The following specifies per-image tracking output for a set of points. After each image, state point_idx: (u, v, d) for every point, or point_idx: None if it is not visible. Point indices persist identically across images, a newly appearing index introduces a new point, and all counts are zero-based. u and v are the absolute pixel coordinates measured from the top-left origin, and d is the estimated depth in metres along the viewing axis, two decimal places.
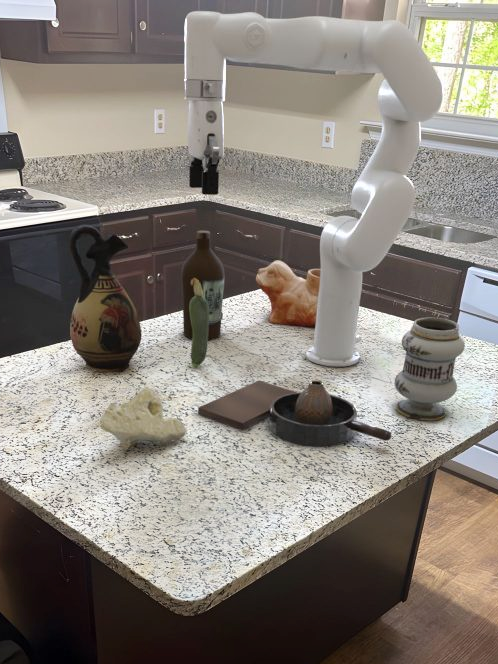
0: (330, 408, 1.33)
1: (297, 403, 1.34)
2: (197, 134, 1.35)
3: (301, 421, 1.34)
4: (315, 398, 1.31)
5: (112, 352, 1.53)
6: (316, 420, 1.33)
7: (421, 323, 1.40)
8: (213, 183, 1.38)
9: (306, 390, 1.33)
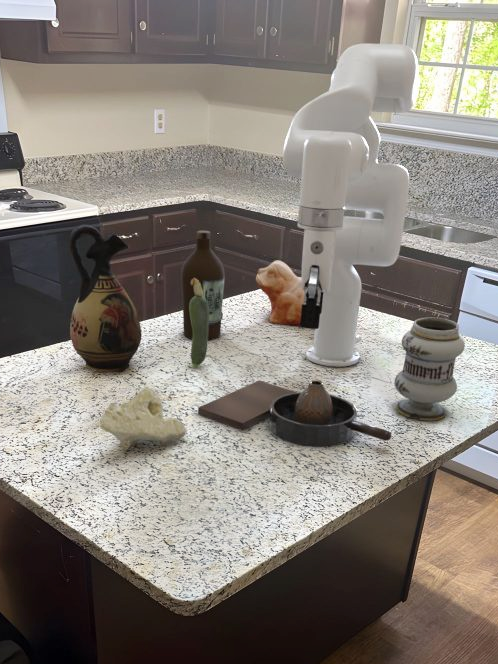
0: (330, 408, 1.33)
1: (297, 403, 1.34)
2: (302, 264, 1.21)
3: (301, 421, 1.34)
4: (315, 398, 1.31)
5: (112, 352, 1.53)
6: (316, 420, 1.33)
7: (421, 323, 1.40)
8: (312, 317, 1.22)
9: (306, 390, 1.33)
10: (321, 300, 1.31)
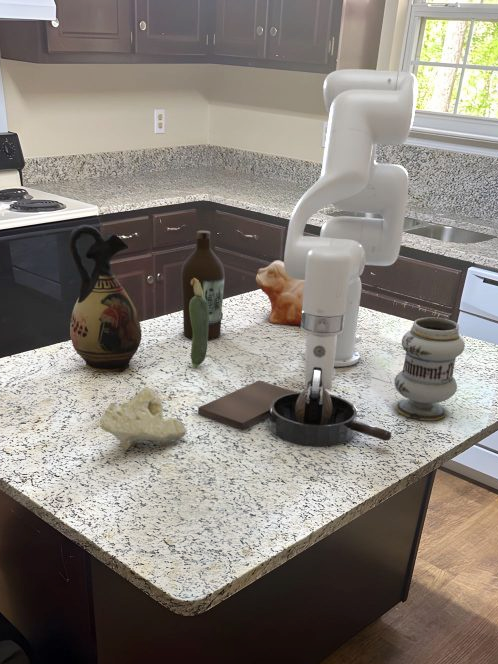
0: (330, 408, 1.33)
1: (297, 403, 1.34)
2: (305, 364, 1.28)
3: (301, 421, 1.34)
4: None
5: (112, 352, 1.53)
6: None
7: (421, 323, 1.40)
8: (315, 415, 1.31)
9: (306, 390, 1.33)
10: None
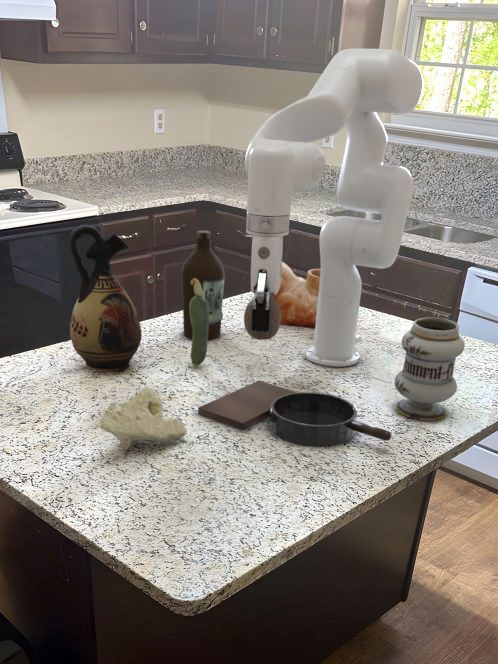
0: (278, 316, 1.33)
1: (245, 311, 1.33)
2: None
3: (249, 330, 1.33)
4: None
5: (112, 352, 1.53)
6: None
7: (421, 323, 1.40)
8: (262, 321, 1.30)
9: None
10: None
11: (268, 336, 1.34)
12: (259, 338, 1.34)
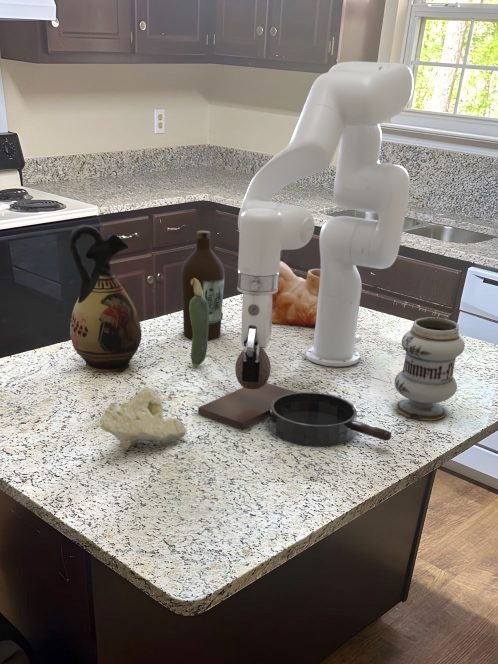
0: (268, 367, 1.39)
1: (236, 362, 1.39)
2: None
3: (240, 380, 1.39)
4: None
5: (112, 352, 1.53)
6: None
7: (421, 323, 1.40)
8: (252, 373, 1.36)
9: (244, 350, 1.38)
10: None
11: (258, 386, 1.40)
12: (249, 388, 1.40)
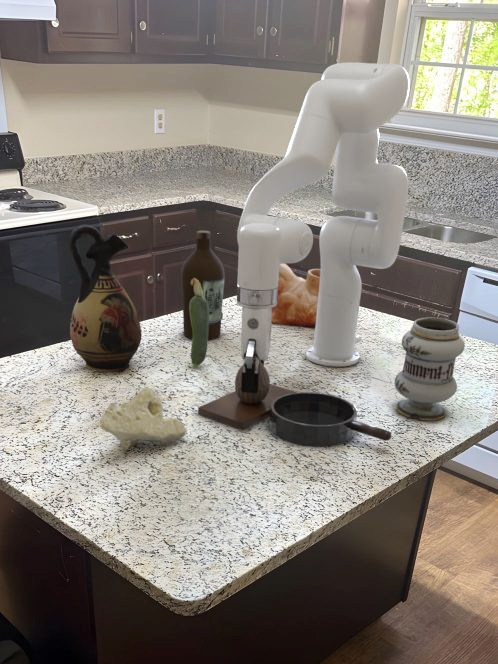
0: (267, 382, 1.40)
1: (236, 378, 1.41)
2: None
3: (240, 395, 1.41)
4: None
5: (112, 352, 1.53)
6: (254, 394, 1.40)
7: (421, 323, 1.40)
8: (251, 383, 1.36)
9: None
10: (262, 363, 1.44)
11: (257, 401, 1.42)
12: (249, 402, 1.42)
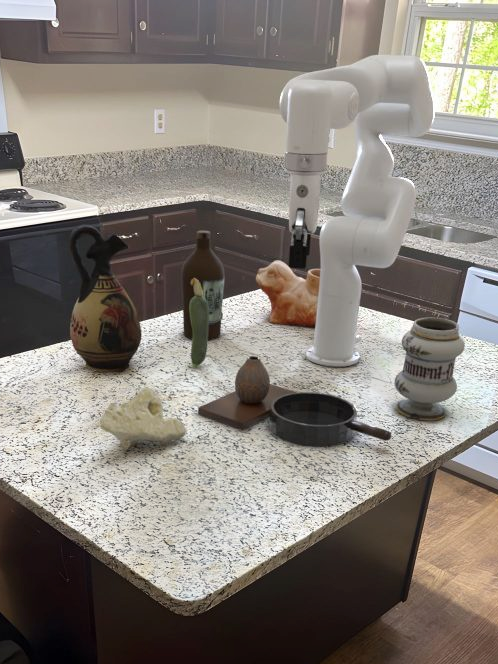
0: (267, 382, 1.40)
1: (236, 378, 1.41)
2: (289, 207, 1.30)
3: (240, 395, 1.41)
4: (251, 372, 1.38)
5: (112, 352, 1.53)
6: (254, 394, 1.40)
7: (421, 323, 1.40)
8: (299, 257, 1.32)
9: (244, 365, 1.40)
10: (309, 242, 1.41)
11: (257, 401, 1.42)
12: (249, 402, 1.42)
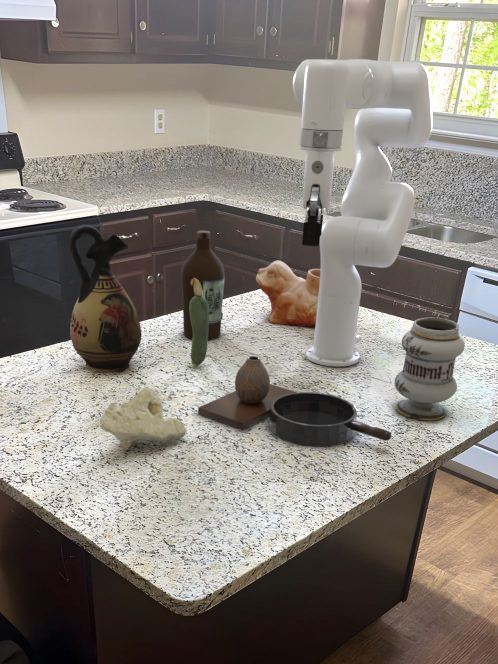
0: (267, 382, 1.40)
1: (236, 378, 1.41)
2: None
3: (240, 395, 1.41)
4: (251, 372, 1.38)
5: (112, 352, 1.53)
6: (254, 394, 1.40)
7: (421, 323, 1.40)
8: (313, 234, 1.32)
9: (244, 365, 1.40)
10: (321, 222, 1.41)
11: (257, 401, 1.42)
12: (249, 402, 1.42)
